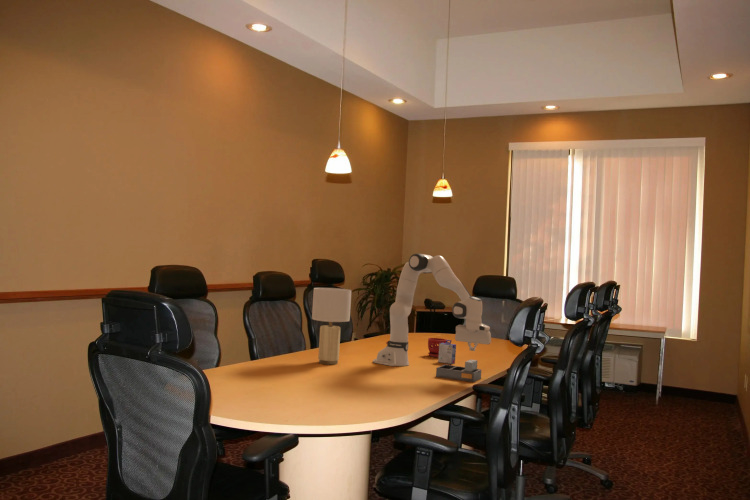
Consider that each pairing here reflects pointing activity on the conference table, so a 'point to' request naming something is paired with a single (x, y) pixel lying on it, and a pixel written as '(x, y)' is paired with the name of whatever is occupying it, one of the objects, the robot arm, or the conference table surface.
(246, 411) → the conference table surface
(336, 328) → the lamp
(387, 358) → the robot arm
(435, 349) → the plant pot
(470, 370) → the grey rectangular block
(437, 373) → the slot rack
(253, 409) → the conference table surface
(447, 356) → the ink cartridge box
